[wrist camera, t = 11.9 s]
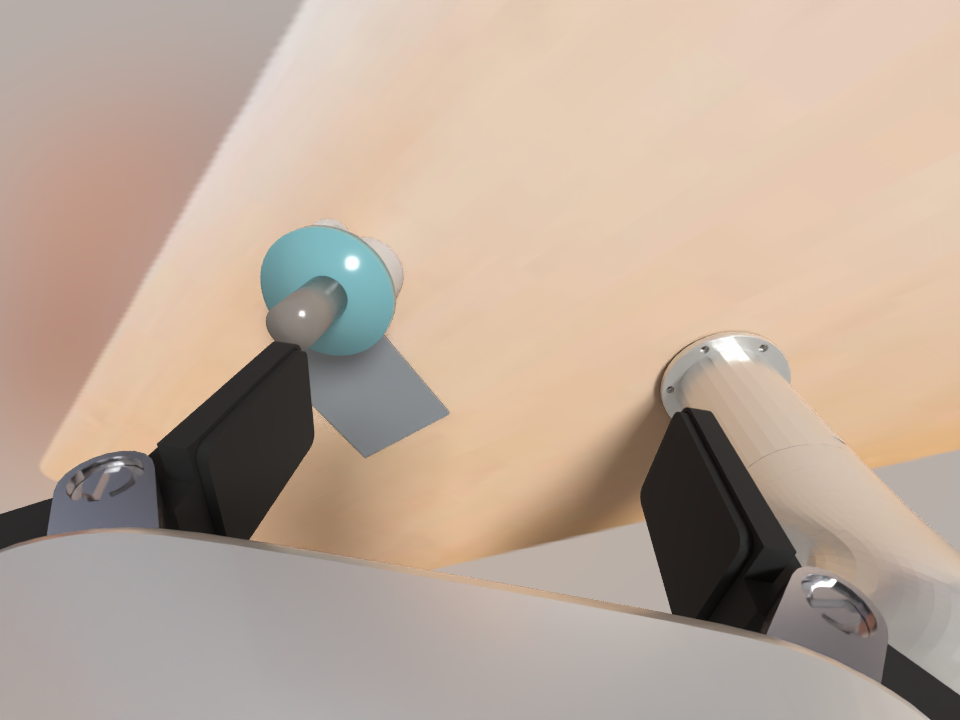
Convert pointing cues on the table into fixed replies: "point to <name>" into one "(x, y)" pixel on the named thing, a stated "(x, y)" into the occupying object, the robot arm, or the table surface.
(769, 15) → the table surface
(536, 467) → the table surface
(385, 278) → the lid
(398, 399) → the mat
